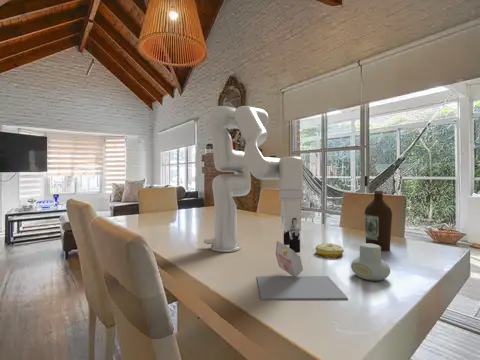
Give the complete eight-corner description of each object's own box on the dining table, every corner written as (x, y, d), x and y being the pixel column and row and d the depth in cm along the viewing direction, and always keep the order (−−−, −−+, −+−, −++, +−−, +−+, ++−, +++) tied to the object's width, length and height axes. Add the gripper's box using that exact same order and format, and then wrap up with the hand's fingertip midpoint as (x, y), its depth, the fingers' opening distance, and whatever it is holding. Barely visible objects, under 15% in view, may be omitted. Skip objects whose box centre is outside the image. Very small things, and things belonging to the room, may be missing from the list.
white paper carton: (286, 259, 89) (281, 237, 84) (303, 269, 84) (297, 246, 79) (279, 266, 88) (272, 244, 83) (295, 277, 83) (289, 254, 78)
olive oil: (376, 244, 125) (376, 189, 125) (397, 250, 116) (398, 191, 115) (358, 246, 121) (359, 190, 121) (379, 252, 111) (380, 191, 111)
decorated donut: (347, 254, 110) (347, 245, 109) (336, 260, 102) (336, 250, 102) (323, 249, 117) (323, 240, 117) (311, 254, 109) (311, 245, 109)
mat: (261, 299, 69) (261, 298, 69) (256, 277, 84) (256, 276, 84) (347, 299, 69) (347, 297, 69) (328, 277, 84) (328, 276, 84)
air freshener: (346, 274, 87) (346, 243, 87) (363, 270, 91) (363, 240, 91) (378, 286, 77) (378, 251, 77) (395, 281, 81) (395, 247, 81)
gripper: (275, 193, 96) (275, 242, 96) (284, 197, 79) (284, 256, 79) (296, 193, 96) (297, 242, 96) (309, 196, 79) (310, 255, 79)
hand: (291, 248), depth 88 cm, fingers open, 9 cm apart
